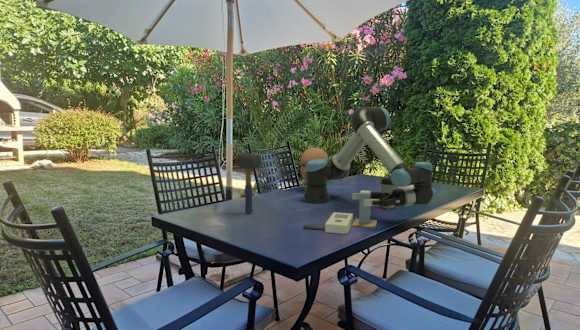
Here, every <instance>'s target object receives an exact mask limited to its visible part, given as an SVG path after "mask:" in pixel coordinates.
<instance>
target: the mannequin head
mask: <svg viewBox="0 0 580 330" xmlns="http://www.w3.org/2000/svg"><path fill="white" fill-rule="evenodd" d="M314 159H326V160H327V161H329V158H328V154H327V153H326V151H324V149H322V148H320V147H310V148H307V149H305V150H304V152H302V154H301V157H300V160H299V161H300V173H301V177H302V178H303V182H304V183H305V184H306V166H307V162H308V161H310V160H314Z"/></svg>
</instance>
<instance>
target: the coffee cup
mask: <svg viewBox="0 0 580 330" xmlns="http://www.w3.org/2000/svg"><path fill="white" fill-rule="evenodd" d="M380 185H381V186H380V187H381V188H380V189H381V190H380V191H381V192H387V193H390V194H392V192H393V190H395V189H398V187H397V186H395V185H394V184H393V183H392V182H391V177H390V178H389V177H384V178H382V179H381V181H380ZM395 207H396V206H395V205H391V206H387V207H383V206H382V208H383V209H387V210H389V209H390V210H391V209H395Z"/></svg>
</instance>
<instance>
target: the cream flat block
mask: <svg viewBox="0 0 580 330" xmlns="http://www.w3.org/2000/svg"><path fill="white" fill-rule="evenodd" d="M353 222H354V213H350V212H335V211H334V212H332V214H331V215H330V217H329V218H328V220H327V221H326V222H325V224H324V226H314V225H303V226H302V228H303V229H308V230H319V231H320V230H321V231H324V233H326V234H327V233H329V234H330V233H331V234H341V235H342V234H343V235H348V233H349V231H350V228H351V227H352V224H353Z"/></svg>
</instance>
